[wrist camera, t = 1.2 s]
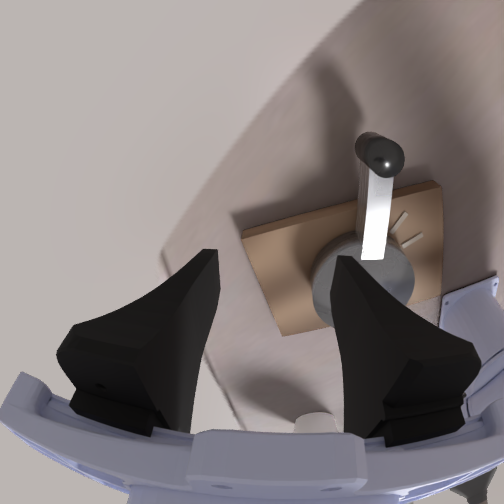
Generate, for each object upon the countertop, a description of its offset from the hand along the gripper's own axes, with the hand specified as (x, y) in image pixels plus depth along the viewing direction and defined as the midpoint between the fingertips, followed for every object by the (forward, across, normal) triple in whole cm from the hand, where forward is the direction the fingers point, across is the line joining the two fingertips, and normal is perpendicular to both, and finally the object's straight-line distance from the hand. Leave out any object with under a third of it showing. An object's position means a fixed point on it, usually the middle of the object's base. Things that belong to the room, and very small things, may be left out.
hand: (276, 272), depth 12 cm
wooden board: (+10, -7, +6) cm, 14 cm away
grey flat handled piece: (+9, -6, +2) cm, 11 cm away
